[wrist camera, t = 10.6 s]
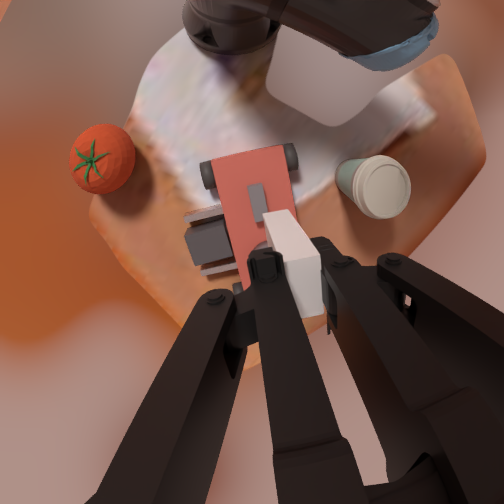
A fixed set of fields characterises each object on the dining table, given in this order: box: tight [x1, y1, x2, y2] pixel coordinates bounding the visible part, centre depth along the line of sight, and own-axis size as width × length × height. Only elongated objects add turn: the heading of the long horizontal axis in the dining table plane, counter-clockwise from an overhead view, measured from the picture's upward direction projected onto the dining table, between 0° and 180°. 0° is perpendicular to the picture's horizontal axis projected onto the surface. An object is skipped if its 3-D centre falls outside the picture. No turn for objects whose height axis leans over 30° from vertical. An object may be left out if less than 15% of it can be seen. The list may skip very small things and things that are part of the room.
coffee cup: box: [335, 155, 411, 219], centre depth 37 cm, size 8×9×12 cm
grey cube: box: [184, 218, 233, 266], centre depth 43 cm, size 5×6×4 cm
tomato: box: [69, 124, 135, 194], centre depth 34 cm, size 10×10×10 cm
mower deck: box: [200, 143, 298, 295], centre depth 41 cm, size 24×13×8 cm, turn 12°
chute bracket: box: [184, 204, 238, 276], centre depth 44 cm, size 10×6×2 cm, turn 12°
